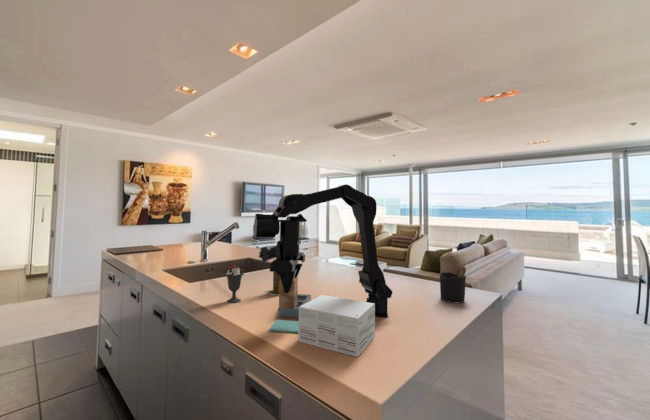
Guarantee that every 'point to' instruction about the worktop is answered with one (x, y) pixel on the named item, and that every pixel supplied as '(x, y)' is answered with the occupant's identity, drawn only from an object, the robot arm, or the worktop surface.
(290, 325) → the mat
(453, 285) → the pen holder
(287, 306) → the peg
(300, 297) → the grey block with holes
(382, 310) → the robot arm
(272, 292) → the condiment
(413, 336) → the worktop surface
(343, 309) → the supplement box
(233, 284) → the sundae
